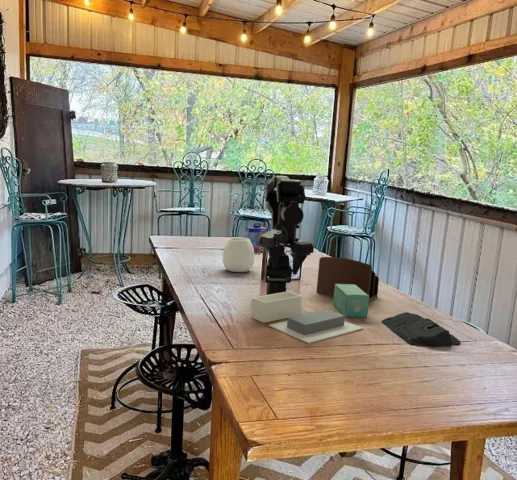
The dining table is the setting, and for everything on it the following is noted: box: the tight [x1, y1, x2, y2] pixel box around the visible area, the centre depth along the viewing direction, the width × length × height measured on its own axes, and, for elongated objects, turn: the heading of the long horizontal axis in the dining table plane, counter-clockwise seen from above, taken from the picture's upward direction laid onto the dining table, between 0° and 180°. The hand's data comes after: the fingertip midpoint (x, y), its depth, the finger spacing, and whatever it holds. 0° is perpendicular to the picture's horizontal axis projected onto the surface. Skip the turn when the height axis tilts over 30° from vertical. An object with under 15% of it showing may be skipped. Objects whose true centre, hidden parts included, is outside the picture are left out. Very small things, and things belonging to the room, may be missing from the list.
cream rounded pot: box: [222, 236, 255, 273], centre depth 209 cm, size 13×13×14 cm
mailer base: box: [250, 291, 303, 324], centre depth 152 cm, size 6×15×6 cm, turn 129°
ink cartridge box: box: [245, 222, 268, 251], centre depth 255 cm, size 10×6×14 cm, turn 112°
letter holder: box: [316, 256, 380, 303], centre depth 181 cm, size 10×20×14 cm, turn 58°
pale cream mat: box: [268, 320, 364, 345], centre depth 144 cm, size 16×22×1 cm
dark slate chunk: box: [380, 311, 461, 348], centre depth 144 cm, size 15×22×5 cm
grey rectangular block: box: [286, 308, 346, 335], centre depth 143 cm, size 7×16×3 cm, turn 129°
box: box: [332, 284, 370, 318], centre depth 161 cm, size 7×14×8 cm, turn 8°
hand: (284, 271), depth 154 cm, fingers open, 9 cm apart
